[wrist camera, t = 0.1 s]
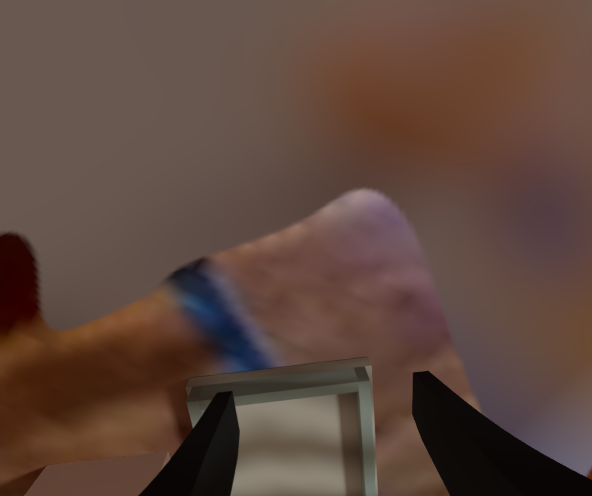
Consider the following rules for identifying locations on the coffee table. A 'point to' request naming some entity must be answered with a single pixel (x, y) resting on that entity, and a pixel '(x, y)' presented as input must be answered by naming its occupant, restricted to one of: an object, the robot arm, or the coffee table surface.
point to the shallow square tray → (299, 428)
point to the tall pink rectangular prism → (100, 476)
